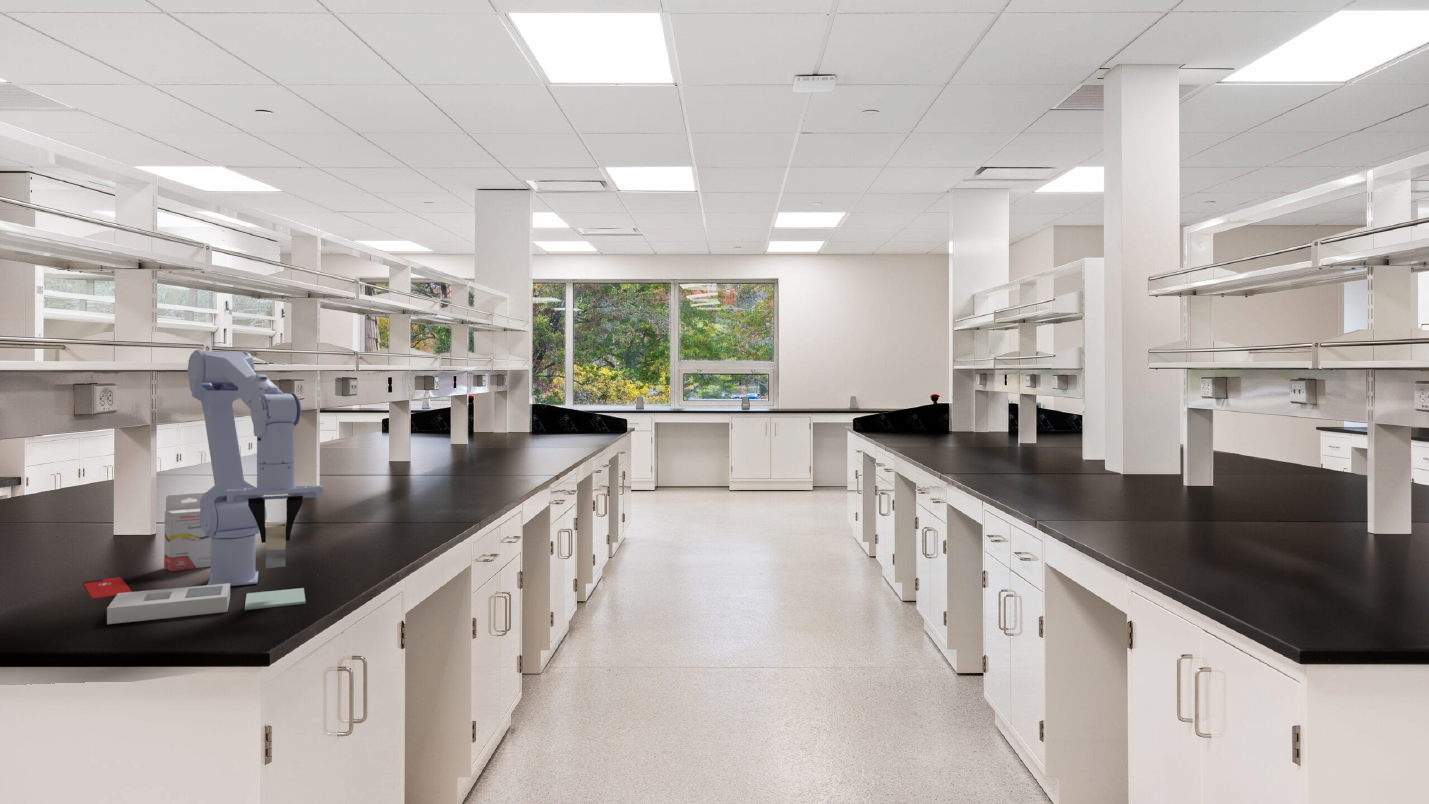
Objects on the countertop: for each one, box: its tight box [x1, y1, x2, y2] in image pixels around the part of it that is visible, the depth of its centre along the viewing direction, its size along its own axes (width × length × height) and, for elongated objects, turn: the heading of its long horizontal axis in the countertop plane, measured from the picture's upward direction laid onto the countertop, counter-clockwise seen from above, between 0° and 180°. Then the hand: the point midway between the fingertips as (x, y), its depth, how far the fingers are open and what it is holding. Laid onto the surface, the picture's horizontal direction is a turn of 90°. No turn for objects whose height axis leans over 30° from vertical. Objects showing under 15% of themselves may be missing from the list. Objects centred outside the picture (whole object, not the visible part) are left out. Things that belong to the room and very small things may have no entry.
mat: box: [244, 587, 306, 611], centre depth 141 cm, size 10×9×1 cm
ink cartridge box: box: [163, 492, 211, 572], centre depth 165 cm, size 9×5×15 cm, turn 137°
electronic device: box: [82, 576, 133, 600], centre depth 148 cm, size 6×1×15 cm
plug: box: [265, 521, 287, 569], centre depth 141 cm, size 4×3×7 cm, turn 28°
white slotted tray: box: [106, 583, 231, 625], centre depth 134 cm, size 10×16×3 cm, turn 118°
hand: (275, 540), depth 141 cm, fingers closed on plug, 3 cm apart
